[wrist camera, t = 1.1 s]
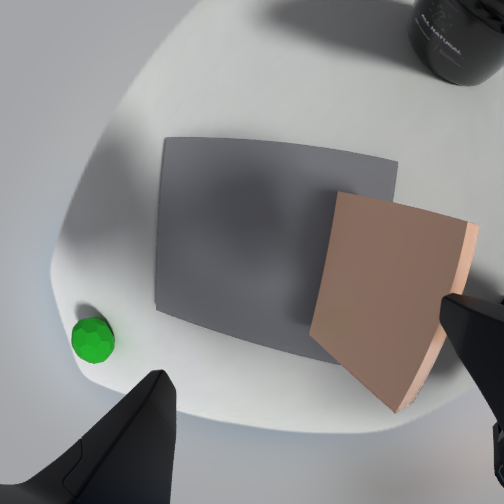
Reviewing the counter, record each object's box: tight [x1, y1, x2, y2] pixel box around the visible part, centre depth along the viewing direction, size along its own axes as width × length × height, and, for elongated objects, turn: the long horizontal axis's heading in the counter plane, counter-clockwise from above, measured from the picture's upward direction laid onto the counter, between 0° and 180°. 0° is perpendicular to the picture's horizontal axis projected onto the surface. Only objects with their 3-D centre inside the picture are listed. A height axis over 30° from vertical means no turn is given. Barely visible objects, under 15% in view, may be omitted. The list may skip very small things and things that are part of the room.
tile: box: [309, 191, 480, 413], centre depth 13 cm, size 2×9×8 cm
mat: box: [156, 137, 398, 365], centre depth 19 cm, size 16×14×1 cm
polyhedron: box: [71, 318, 115, 364], centre depth 25 cm, size 5×5×5 cm
